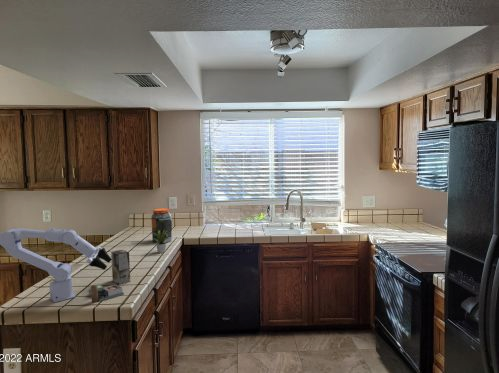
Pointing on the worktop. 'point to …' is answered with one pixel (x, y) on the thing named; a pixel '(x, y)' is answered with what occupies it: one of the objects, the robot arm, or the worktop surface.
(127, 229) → the worktop surface
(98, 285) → the on button
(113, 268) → the coffee box
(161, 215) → the jar with orange lid
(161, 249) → the house plant
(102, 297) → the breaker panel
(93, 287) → the walnut stylus
